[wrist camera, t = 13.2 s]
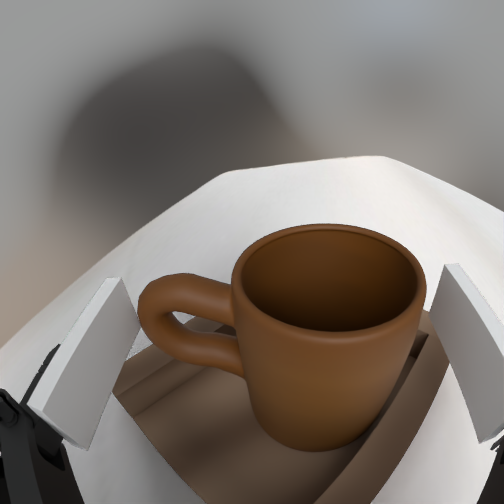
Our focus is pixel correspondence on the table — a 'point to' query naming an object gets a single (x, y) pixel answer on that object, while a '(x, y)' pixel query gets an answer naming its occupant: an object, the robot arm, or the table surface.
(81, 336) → the robot arm
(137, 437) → the table surface
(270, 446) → the u rest
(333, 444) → the mug
